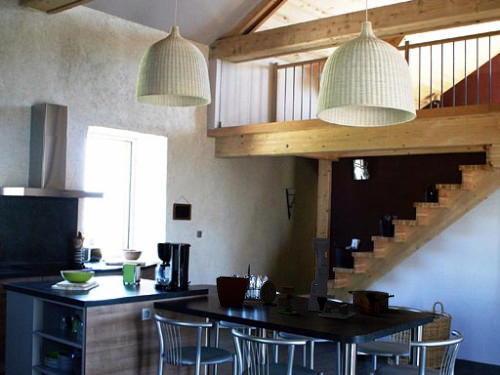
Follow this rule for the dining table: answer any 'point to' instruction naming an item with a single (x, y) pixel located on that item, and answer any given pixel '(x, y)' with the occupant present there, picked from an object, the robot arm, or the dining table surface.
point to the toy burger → (286, 300)
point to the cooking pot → (380, 295)
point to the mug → (368, 304)
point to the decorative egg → (268, 292)
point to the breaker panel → (337, 314)
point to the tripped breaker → (327, 309)
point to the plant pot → (232, 290)
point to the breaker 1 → (342, 309)
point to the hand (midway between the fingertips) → (321, 310)
